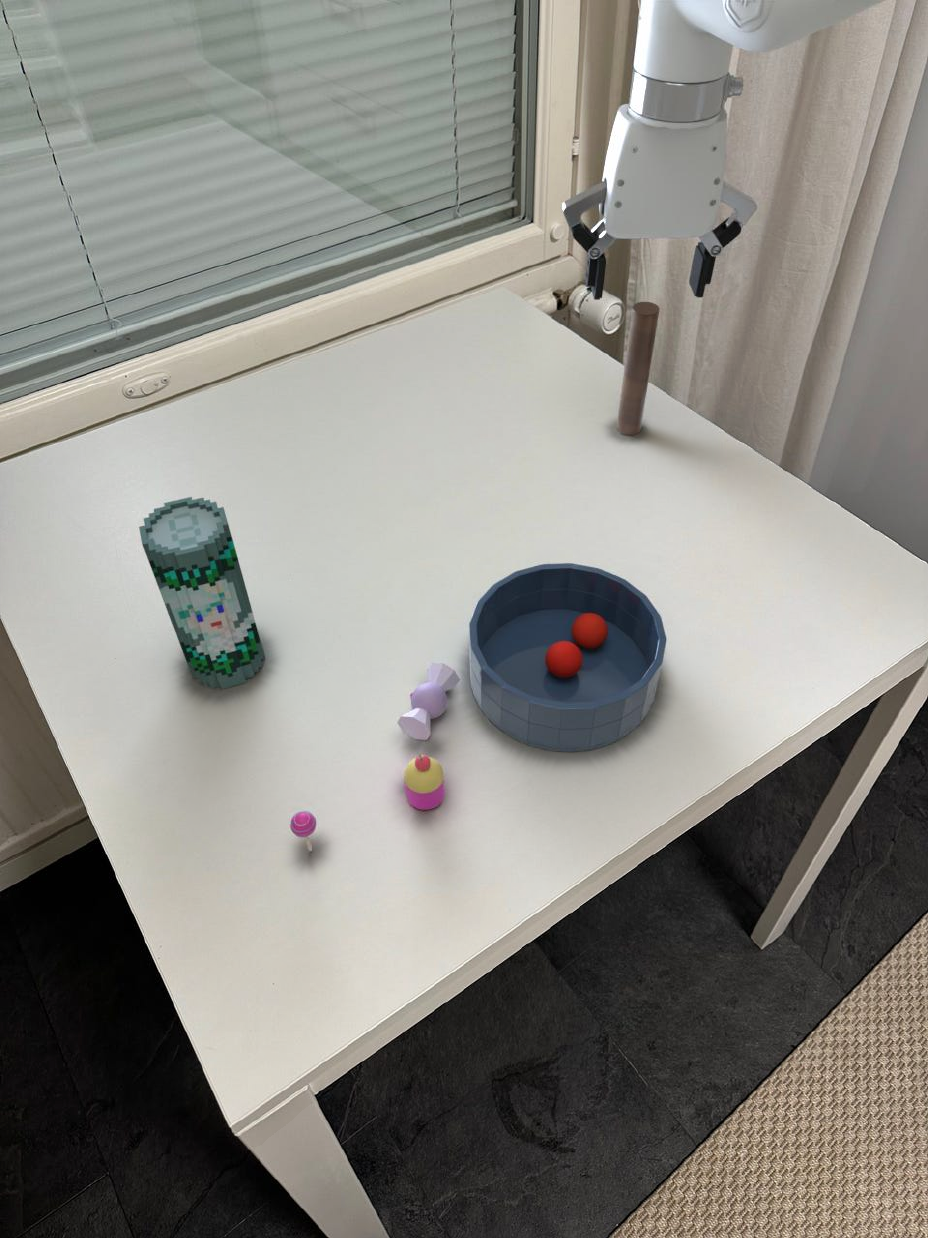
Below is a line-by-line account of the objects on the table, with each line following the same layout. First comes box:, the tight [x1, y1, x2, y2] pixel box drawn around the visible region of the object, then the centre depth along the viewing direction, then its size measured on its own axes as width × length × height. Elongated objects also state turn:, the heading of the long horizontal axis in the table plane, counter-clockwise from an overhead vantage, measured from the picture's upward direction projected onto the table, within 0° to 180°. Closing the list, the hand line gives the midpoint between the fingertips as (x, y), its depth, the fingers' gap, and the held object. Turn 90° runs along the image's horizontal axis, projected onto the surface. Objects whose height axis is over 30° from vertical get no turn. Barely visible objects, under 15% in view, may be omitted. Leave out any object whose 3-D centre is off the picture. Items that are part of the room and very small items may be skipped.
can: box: [138, 496, 266, 690], centre depth 70 cm, size 6×6×15 cm
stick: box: [616, 301, 660, 436], centre depth 92 cm, size 3×3×14 cm
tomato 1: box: [545, 641, 583, 678], centre depth 72 cm, size 3×3×3 cm
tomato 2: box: [572, 613, 608, 649], centre depth 74 cm, size 3×3×3 cm
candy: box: [289, 662, 461, 852], centre depth 65 cm, size 18×8×6 cm, turn 157°
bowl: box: [468, 562, 668, 753], centre depth 72 cm, size 15×15×6 cm
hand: (645, 291), depth 85 cm, fingers open, 9 cm apart
